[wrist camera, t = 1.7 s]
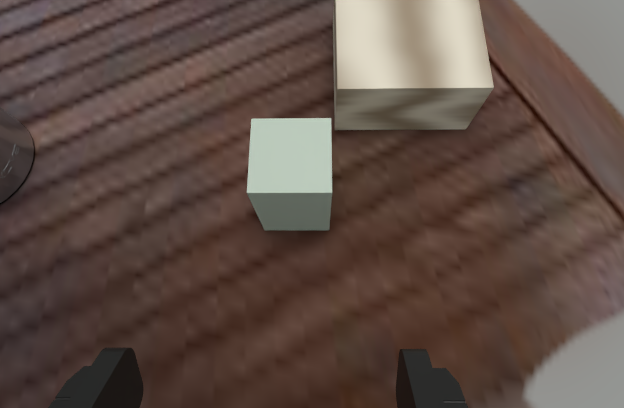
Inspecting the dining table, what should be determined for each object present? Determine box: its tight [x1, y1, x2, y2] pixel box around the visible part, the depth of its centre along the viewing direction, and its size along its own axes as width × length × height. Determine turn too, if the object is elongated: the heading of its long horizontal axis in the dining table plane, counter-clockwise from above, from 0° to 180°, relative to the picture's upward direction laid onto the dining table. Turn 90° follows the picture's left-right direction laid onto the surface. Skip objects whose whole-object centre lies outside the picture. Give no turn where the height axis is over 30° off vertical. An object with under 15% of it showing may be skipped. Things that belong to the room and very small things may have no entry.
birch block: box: [333, 0, 494, 130], centre depth 33 cm, size 11×11×6 cm
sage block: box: [247, 118, 332, 230], centre depth 28 cm, size 5×5×8 cm
